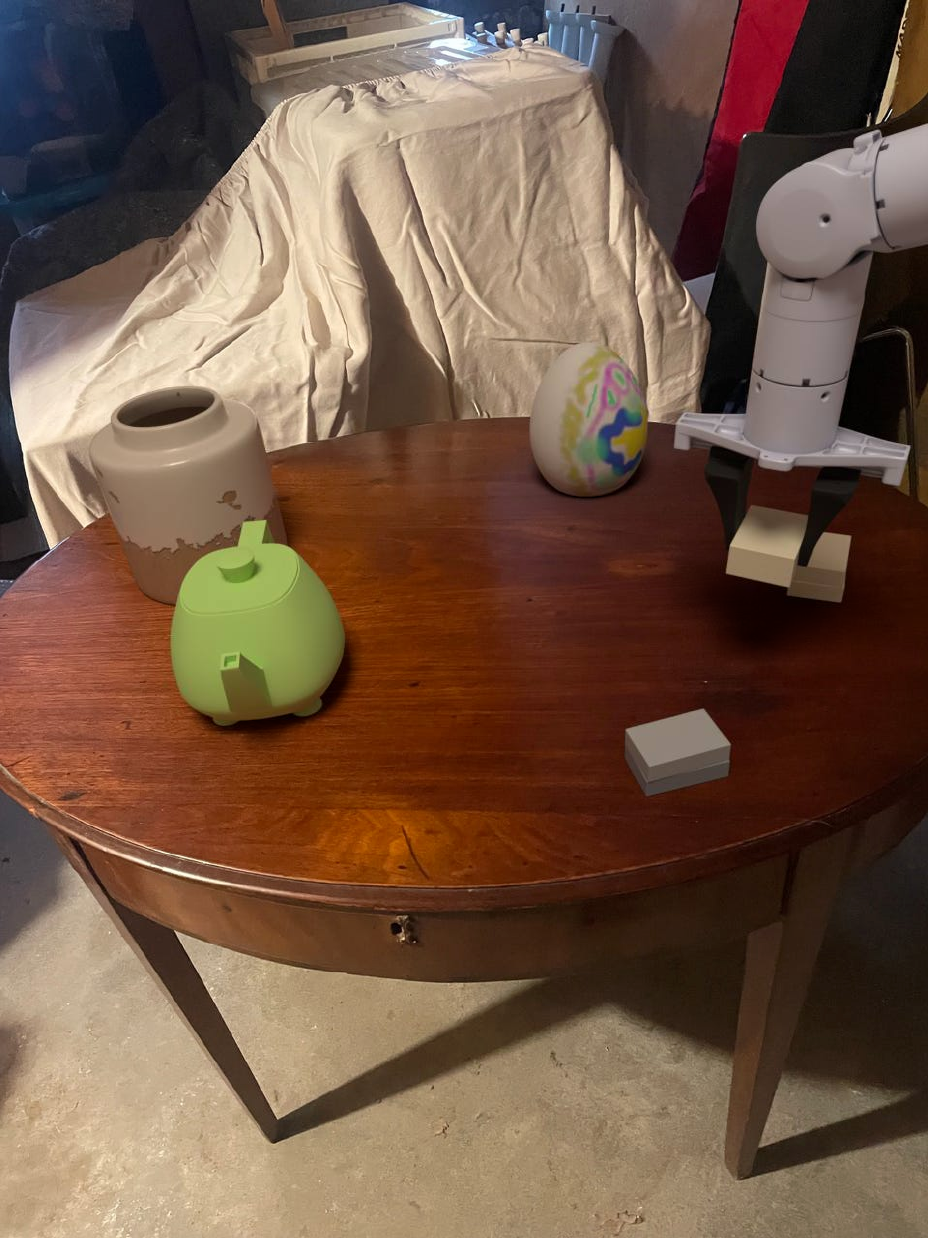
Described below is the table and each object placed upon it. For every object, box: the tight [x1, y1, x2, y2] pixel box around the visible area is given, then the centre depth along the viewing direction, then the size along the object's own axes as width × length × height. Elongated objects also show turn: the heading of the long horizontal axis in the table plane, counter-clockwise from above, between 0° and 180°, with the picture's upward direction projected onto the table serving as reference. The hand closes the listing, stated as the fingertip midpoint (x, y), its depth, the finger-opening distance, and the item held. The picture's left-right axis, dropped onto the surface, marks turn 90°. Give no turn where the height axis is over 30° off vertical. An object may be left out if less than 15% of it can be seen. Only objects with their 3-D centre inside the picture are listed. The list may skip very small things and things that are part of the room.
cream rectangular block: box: [725, 504, 808, 589], centre depth 63 cm, size 6×4×2 cm
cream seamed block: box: [786, 531, 852, 604], centre depth 76 cm, size 6×4×3 cm
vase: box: [88, 385, 289, 606], centre depth 83 cm, size 15×15×17 cm
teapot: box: [170, 520, 346, 727], centre depth 68 cm, size 20×13×13 cm
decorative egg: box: [529, 341, 649, 498], centre depth 91 cm, size 12×12×15 cm
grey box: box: [624, 708, 732, 798], centre depth 60 cm, size 6×4×3 cm, turn 104°
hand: (767, 551), depth 63 cm, fingers closed on cream rectangular block, 4 cm apart
